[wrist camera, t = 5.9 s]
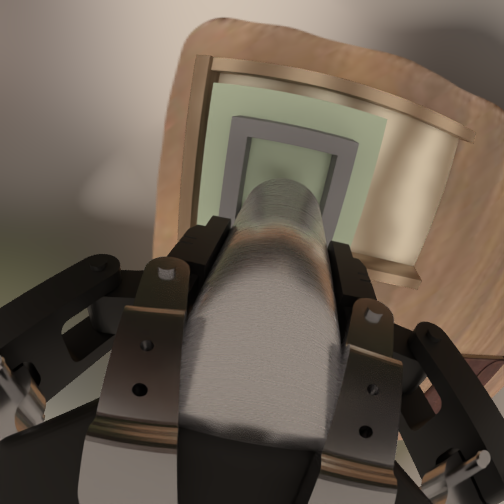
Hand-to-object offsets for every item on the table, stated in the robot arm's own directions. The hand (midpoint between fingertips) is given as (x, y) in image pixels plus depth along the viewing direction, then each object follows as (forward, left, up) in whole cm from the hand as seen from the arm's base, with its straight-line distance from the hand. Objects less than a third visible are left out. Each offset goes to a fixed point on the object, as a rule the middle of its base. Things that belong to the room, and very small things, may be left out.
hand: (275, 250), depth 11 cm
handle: (0, 0, -4) cm, 4 cm away
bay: (-4, 0, -19) cm, 19 cm away
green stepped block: (0, 0, -17) cm, 17 cm away
